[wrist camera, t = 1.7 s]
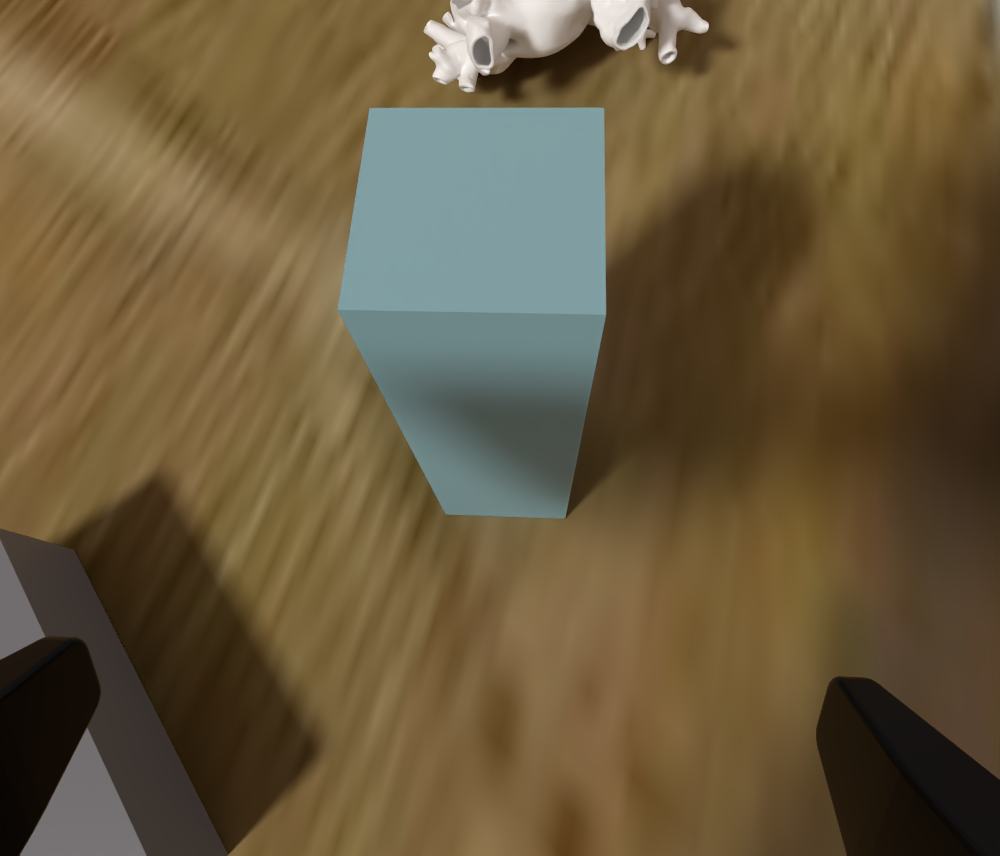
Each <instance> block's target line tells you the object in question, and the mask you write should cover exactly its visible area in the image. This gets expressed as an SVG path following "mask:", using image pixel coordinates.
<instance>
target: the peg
mask: <svg viewBox="0 0 1000 856" xmlns="http://www.w3.org/2000/svg"><path fill="white" fill-rule="evenodd" d="M338 311H339V313H340V315H341V317H342V319H343V321H344V323H345V325H346V326H347V328H348V330H349V332H350V334H351V336H352V338H353V340H354V342H355V344H356V345H357V347H358V349H359V351H360V353H361V355H362V357H363V359H364V361H365V362H366V364H367V366H368V368H369V370H370V372H371V374H372V376H373V378H374V379H375V381H376V383H377V385H378V387H379V389H380V391H381V393H382V395H383V396H384V398H385V400H386V402H387V404H388V406H389V408H390V410H391V412H392V414H393V415H394V417H395V419H396V421H397V423H398V425H399V427H400V429H401V431H402V432H403V434H404V436H405V438H406V440H407V442H408V444H409V446H410V448H411V449H412V451H413V453H414V455H415V457H416V459H417V461H418V463H419V465H420V466H421V468H422V470H423V472H424V474H425V476H426V478H427V480H428V482H429V484H430V485H431V487H432V489H433V491H434V493H435V495H436V497H437V499H438V501H439V502H440V504H441V506H442V508H443V510H444V512H445V514H452V515H479V516H506V517H533V518H560V519H565V517H566V512H567V507H568V502H569V498H570V493H571V488H572V483H573V478H574V473H575V468H576V463H577V458H578V453H579V448H580V443H581V438H582V433H583V428H584V423H585V418H586V413H587V408H588V403H589V398H590V393H591V388H592V383H593V378H594V373H595V368H596V363H597V358H598V353H599V348H600V343H601V338H602V333H603V328H604V323H605V318H606V252H605V156H604V108H370V110H369V116H368V122H367V129H366V135H365V141H364V148H363V154H362V160H361V166H360V173H359V179H358V185H357V192H356V198H355V204H354V210H353V217H352V223H351V229H350V236H349V242H348V248H347V254H346V261H345V267H344V273H343V280H342V286H341V292H340V298H339V305H338Z"/></svg>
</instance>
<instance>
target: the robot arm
mask: <svg viewBox="0 0 1000 856" xmlns="http://www.w3.org/2000/svg"><path fill="white" fill-rule="evenodd" d="M100 695H101V685H100V682H99V679H98V676H97V673H96V670H95V667H94V664H93V661H92V658H91V655H90V652H89V648H88V646H87V644H86V642H85V641H83V640H82V639H81V638H78V637H68V636H47V637H44V638H41V639H39V640H37V641H35V642H33V643H31V644H30V645H28V646H26V647H24V648H22V649H20V650H18V651H16V652H14V653H12V654H10V655H8V656H7V657H5V658H3V659H1V660H0V856H20V854H21V852H22V851H23V849H24V847H25V846H26V844H27V842H28V841H29V839H30V837H31V835H32V834H33V832H34V830H35V828H36V826H37V825H38V823H39V821H40V819H41V817H42V815H43V813H44V812H45V810H46V808H47V806H48V804H49V802H50V800H51V798H52V796H53V794H54V792H55V790H56V788H57V786H58V784H59V782H60V780H61V778H62V776H63V774H64V772H65V770H66V768H67V766H68V764H69V762H70V760H71V758H72V756H73V754H74V752H75V750H76V748H77V746H78V744H79V742H80V740H81V738H82V737H83V735H84V733H85V731H86V729H87V727H88V725H89V723H90V721H91V719H92V717H93V715H94V713H95V711H96V709H97V706H98V704H99V700H100ZM816 741H817V747H818V751H819V755H820V759H821V762H822V766H823V770H824V773H825V777H826V781H827V784H828V788H829V792H830V795H831V799H832V803H833V806H834V810H835V814H836V818H837V821H838V825H839V829H840V832H841V836H842V840H843V843H844V847H845V851H846V854H847V856H1000V780H999V779H998V778H997V777H995V776H994V775H993V774H992V773H990V772H989V771H988V770H987V769H985V768H984V767H983V766H981V765H980V764H979V763H978V762H976V761H975V760H974V759H973V758H971V757H970V756H969V755H968V754H966V753H965V752H964V751H963V750H961V749H960V748H959V747H958V746H956V745H955V744H954V743H952V742H951V741H950V740H949V739H947V738H946V737H945V736H944V735H942V734H941V733H940V732H939V731H937V730H936V729H935V728H934V727H932V726H931V725H930V724H929V723H927V722H926V721H925V720H923V719H922V718H921V717H920V716H918V715H917V714H916V713H915V712H913V711H912V710H911V709H910V708H908V707H907V706H906V705H905V704H903V703H902V702H901V701H900V700H898V699H897V698H896V697H894V696H893V695H892V694H891V693H889V692H888V691H887V690H886V689H884V688H883V687H882V686H881V685H879V684H878V683H877V682H875V681H873V680H871V679H868V678H862V677H843V676H838V677H834V678H833V679H832V680H831V681H830V682H829V685H828V688H827V691H826V695H825V698H824V702H823V705H822V709H821V713H820V716H819V720H818V723H817V729H816Z"/></svg>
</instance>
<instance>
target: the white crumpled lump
mask: <svg viewBox="0 0 1000 856" xmlns="http://www.w3.org/2000/svg"><path fill="white" fill-rule="evenodd" d="M450 5H451V10H452V14H453V18H454V21H453V19H452V16H451V14H450V13H449V12H447V13H445V15H444V16H443V21H444V22H445V23H446V24H447V25H448V26H449V27H446V26H445V25H443V24H440V23H438V22H436V21H433V20H430V21H429V22H428V23H427V25H426V27H425V29H424V32H425V33H426V34H427V35H428V36H430V37H431V38H433V39H434V40H435V41H436V42H437V43H438V44H437V45H435V46H434V47H433V48H432V51H433V52H430V53H429V57H430V58H431V59H432V60H433V61H434V62H435V63H436V69H435V71H434V73H433V78H434V80H435V81H437V82H440V83H442V84H446V85H447V84H449V83H451V82H452V81H454V80H455V79H458V80H459V88H460V89H461V90H463V91H465V92H473V91H475V85H476V81H477V77H478V73H481V74H482V75H484V76H487V75H489V74H499V73H501V72H503V71H504V70H506V69H507V68H508V67H509V66H510V64H511V63H512V62H513V61H514V60H515V59H516V58H517V57H519V58H539V57H545V56H549V55H551V54H554V53H556V52H558V51H560V50H562V49H563V48H565V47H566V46H568V45H569V44H570V43H572V42H573V41H574V40H575V39H576V38H578V37H579V36H580V34H581V33H582V32H583V30H584V29H585V27H586V26H587V24H589V25H592V26H596V27H597V28H598V29H599V30H600V36H601V38H602V40H603V41H604V43H606V44H607V45H608V46H610V47H613V48H614V49H615V51H620V50H623V51H625V50H626V49H628V48H630V47H632V46H634V45H635V44H636V43H638V46H639V48H640V50H643V49H645V48H646V38H655V36H656V33H658V34H659V45H658V57H659V60H660V61H661V62H662V63H663V64H669V63H671V62H673V61H674V60H675V58H676V56H677V49H676V35H677V32H678V31H680V30H685V31H690V32H694V33H698V34H701V33H705V32H707V31H708V28H709V24H708V22H706V21H705V20H703V19H701V18H700V16H699V15H698V14H697V13H696V12H695V11H693V9H692V8H690V7H686V8H685V7H683V6H682V4H681V2H680V0H451V1H450ZM647 27H649V28H650V29H651V30H649V29H647Z"/></svg>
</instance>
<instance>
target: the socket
mask: <svg viewBox="0 0 1000 856" xmlns="http://www.w3.org/2000/svg"><path fill="white" fill-rule="evenodd" d="M47 636H68V637H78V638H81V639H82V640H83V641H85V642H86V644H87V646H88V648H89V652H90V655H91V658H92V661H93V664H94V667H95V670H96V673H97V676H98V679H99V682H100V685H101V695H100V700H99V704H98V706H97V709H96V711H95V713H94V715H93V717H92V719H91V721H90V723H89V725H88V727H87V729H86V731H85V733H84V735H83V737H82V738H81V740H80V742H79V744H78V746H77V748H76V750H75V752H74V754H73V756H72V758H71V760H70V762H69V764H68V766H67V768H66V770H65V772H64V774H63V776H62V778H61V780H60V782H59V784H58V786H57V788H56V790H55V792H54V794H53V796H52V798H51V800H50V802H49V804H48V806H47V808H46V810H45V812H44V813H43V815H42V817H41V819H40V821H39V823H38V825H37V826H36V828H35V830H34V832H33V834H32V835H31V837H30V839H29V841H28V842H27V844H26V846H25V847H24V849H23V851H22V852H21V854H20V856H227V855H228V854H227V852H226V850H225V848H224V846H223V844H222V842H221V840H220V838H219V836H218V834H217V832H216V830H215V828H214V826H213V824H212V822H211V820H210V818H209V816H208V814H207V812H206V810H205V808H204V806H203V804H202V802H201V800H200V798H199V796H198V794H197V792H196V790H195V788H194V786H193V784H192V782H191V780H190V778H189V776H188V774H187V772H186V770H185V768H184V766H183V764H182V762H181V760H180V758H179V756H178V754H177V752H176V750H175V748H174V746H173V744H172V743H171V741H170V739H169V737H168V735H167V733H166V731H165V729H164V727H163V725H162V723H161V721H160V719H159V717H158V715H157V713H156V711H155V709H154V707H153V705H152V703H151V701H150V699H149V697H148V695H147V693H146V691H145V689H144V687H143V685H142V683H141V681H140V679H139V677H138V675H137V673H136V671H135V669H134V667H133V665H132V663H131V661H130V659H129V657H128V655H127V653H126V651H125V649H124V647H123V645H122V643H121V641H120V639H119V637H118V635H117V634H116V632H115V630H114V628H113V626H112V624H111V622H110V620H109V618H108V616H107V614H106V612H105V610H104V608H103V606H102V604H101V602H100V600H99V598H98V596H97V594H96V592H95V590H94V588H93V586H92V584H91V582H90V580H89V578H88V576H87V574H86V572H85V570H84V568H83V566H82V564H81V562H80V560H79V558H78V556H77V554H76V552H75V550H74V549H70V548H67V547H63V546H60V545H56V544H53V543H49V542H46V541H42V540H39V539H35V538H32V537H28V536H25V535H21V534H17V533H14V532H10V531H7V530H3V529H0V660H1V659H3V658H5V657H7V656H8V655H10V654H12V653H14V652H16V651H18V650H20V649H22V648H24V647H26V646H28V645H30V644H31V643H33V642H35V641H37V640H39V639H41V638H44V637H47Z"/></svg>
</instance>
